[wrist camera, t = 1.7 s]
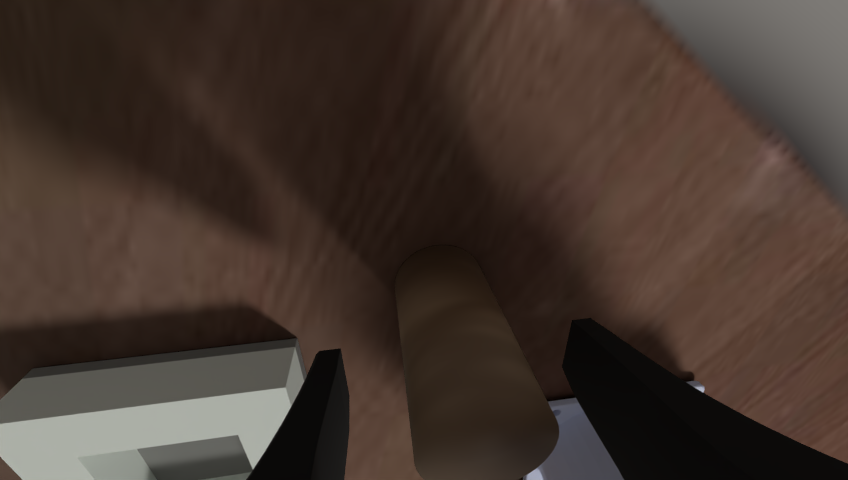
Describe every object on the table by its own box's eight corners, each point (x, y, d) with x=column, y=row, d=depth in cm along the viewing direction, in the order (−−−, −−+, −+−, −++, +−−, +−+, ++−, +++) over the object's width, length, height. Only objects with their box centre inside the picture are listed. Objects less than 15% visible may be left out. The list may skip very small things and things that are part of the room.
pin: (483, 241, 14) (570, 388, 8) (479, 313, 16) (548, 479, 10) (391, 249, 14) (410, 410, 8) (397, 322, 16) (417, 501, 10)
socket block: (297, 338, 15) (285, 387, 13) (332, 475, 20) (328, 528, 18) (32, 368, 14) (-28, 427, 12) (136, 506, 19) (106, 566, 17)
